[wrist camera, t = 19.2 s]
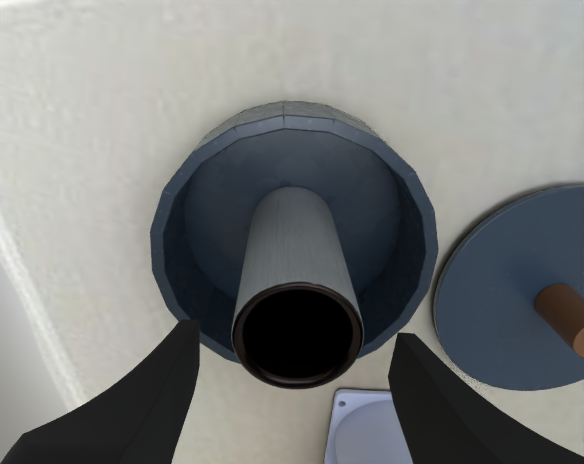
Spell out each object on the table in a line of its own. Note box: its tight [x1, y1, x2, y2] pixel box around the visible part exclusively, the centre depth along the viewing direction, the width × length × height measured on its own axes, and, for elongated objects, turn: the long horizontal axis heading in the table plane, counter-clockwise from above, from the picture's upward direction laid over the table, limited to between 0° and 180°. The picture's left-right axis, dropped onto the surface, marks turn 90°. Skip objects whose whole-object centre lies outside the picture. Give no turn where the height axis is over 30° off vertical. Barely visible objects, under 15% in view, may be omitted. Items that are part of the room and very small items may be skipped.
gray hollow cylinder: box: [231, 186, 364, 389], centre depth 19 cm, size 4×4×10 cm
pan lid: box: [433, 185, 584, 391], centre depth 24 cm, size 14×14×5 cm
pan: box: [150, 101, 438, 364], centre depth 22 cm, size 13×13×5 cm
